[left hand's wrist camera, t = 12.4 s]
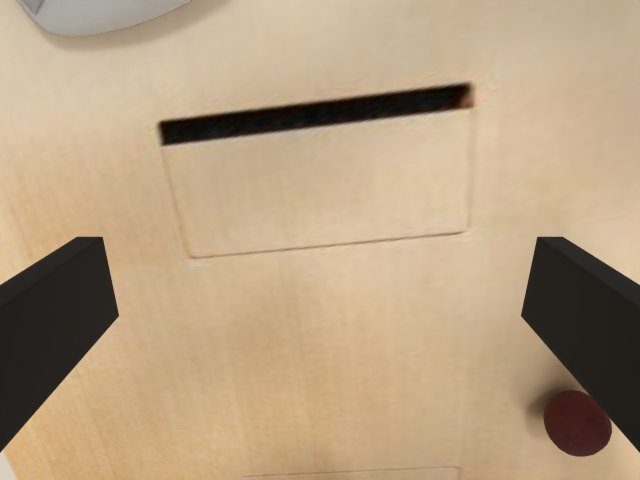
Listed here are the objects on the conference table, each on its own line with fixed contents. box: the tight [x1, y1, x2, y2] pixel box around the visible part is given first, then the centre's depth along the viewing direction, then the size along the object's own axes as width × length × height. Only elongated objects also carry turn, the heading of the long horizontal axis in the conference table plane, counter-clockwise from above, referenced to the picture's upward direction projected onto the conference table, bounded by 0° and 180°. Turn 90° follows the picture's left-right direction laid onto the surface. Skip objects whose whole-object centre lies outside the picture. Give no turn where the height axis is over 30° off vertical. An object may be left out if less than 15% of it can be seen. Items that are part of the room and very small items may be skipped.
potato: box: [544, 390, 612, 457], centre depth 51 cm, size 7×8×7 cm
